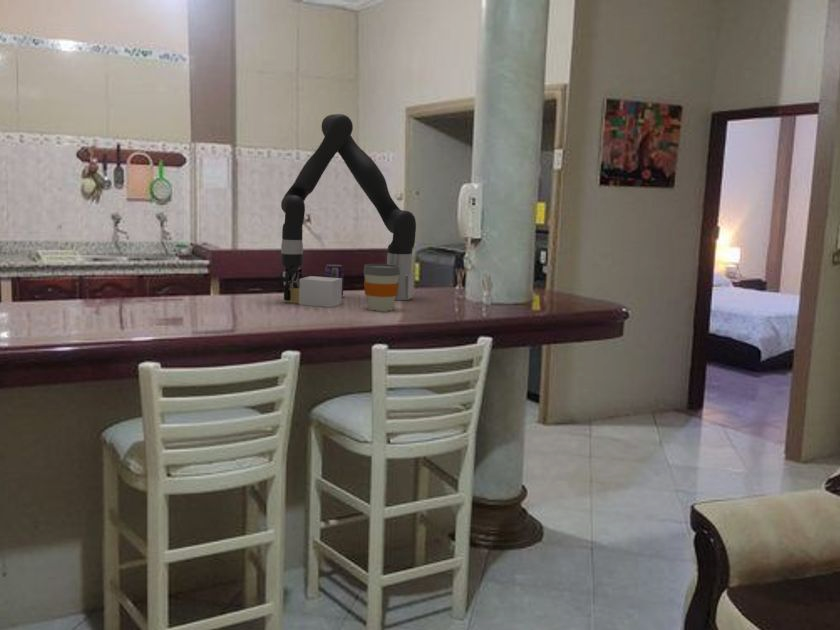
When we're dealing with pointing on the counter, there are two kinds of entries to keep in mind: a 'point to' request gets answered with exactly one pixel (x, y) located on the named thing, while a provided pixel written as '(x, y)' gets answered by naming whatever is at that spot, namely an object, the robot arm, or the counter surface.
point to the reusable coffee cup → (381, 286)
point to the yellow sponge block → (294, 295)
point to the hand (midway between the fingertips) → (291, 299)
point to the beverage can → (334, 272)
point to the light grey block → (320, 291)
